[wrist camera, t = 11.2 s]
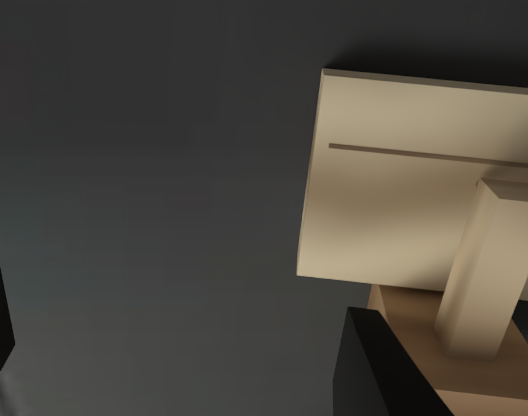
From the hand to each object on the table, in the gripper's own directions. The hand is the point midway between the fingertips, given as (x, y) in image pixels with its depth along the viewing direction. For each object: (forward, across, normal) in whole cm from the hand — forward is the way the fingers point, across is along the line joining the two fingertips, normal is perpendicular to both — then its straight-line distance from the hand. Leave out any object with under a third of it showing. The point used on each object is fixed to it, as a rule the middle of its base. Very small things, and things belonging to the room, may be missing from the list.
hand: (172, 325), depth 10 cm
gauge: (+10, -9, +4) cm, 14 cm away
